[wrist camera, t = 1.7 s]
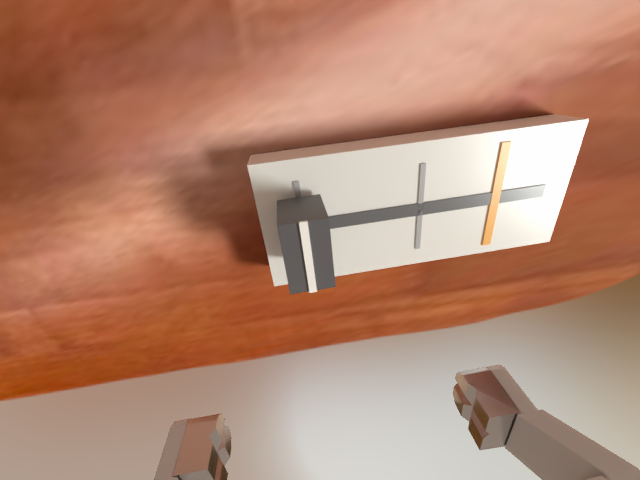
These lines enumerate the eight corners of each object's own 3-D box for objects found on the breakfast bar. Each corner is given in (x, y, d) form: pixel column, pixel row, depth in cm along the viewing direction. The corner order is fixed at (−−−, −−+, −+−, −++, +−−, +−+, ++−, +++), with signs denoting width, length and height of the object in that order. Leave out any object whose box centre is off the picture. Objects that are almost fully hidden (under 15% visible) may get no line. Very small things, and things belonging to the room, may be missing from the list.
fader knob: (288, 261, 23) (290, 296, 19) (276, 199, 20) (276, 226, 17) (326, 255, 23) (336, 288, 19) (320, 193, 21) (329, 218, 17)
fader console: (274, 265, 27) (274, 287, 24) (250, 154, 22) (247, 165, 19) (524, 226, 28) (550, 242, 26) (554, 114, 24) (590, 119, 21)
